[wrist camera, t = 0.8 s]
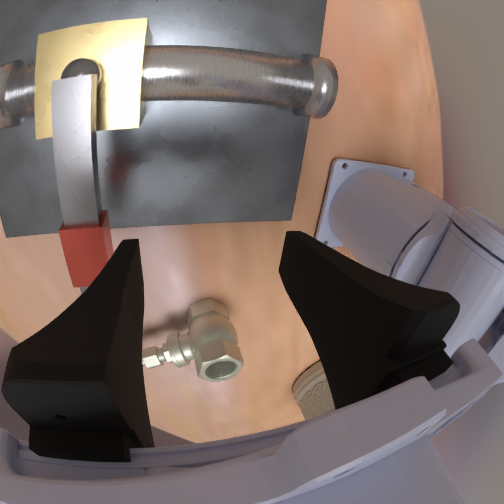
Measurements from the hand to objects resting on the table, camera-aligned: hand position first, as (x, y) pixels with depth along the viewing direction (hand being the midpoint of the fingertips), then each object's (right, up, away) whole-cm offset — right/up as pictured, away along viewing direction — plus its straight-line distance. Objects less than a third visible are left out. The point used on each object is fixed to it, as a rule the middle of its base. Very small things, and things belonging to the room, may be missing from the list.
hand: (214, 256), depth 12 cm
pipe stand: (-5, +10, +3) cm, 12 cm away
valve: (-6, -6, +15) cm, 17 cm away
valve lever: (-6, +3, 0) cm, 7 cm away
